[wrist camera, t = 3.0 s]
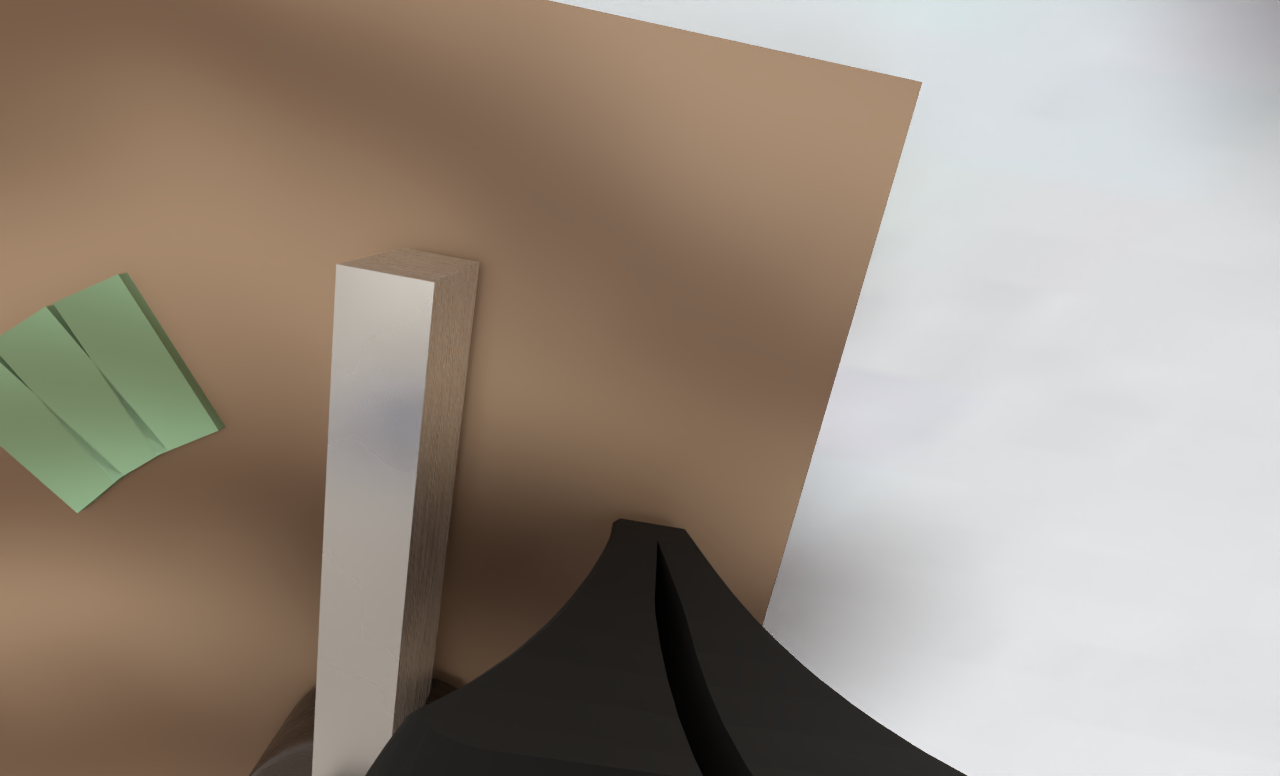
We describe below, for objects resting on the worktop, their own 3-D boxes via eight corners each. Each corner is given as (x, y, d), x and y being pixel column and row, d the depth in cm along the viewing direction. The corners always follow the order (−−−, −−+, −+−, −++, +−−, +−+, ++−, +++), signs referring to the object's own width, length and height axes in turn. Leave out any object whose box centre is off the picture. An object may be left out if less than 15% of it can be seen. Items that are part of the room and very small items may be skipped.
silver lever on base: (498, 863, 14) (454, 1081, 11) (275, 835, 14) (155, 1051, 10) (597, 281, 10) (580, 326, 7) (292, 223, 10) (110, 239, 7)
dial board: (665, 894, 17) (668, 954, 15) (42, 816, 16) (-13, 874, 14) (892, 93, 11) (927, 80, 10) (-69, -115, 10) (-177, -162, 9)
